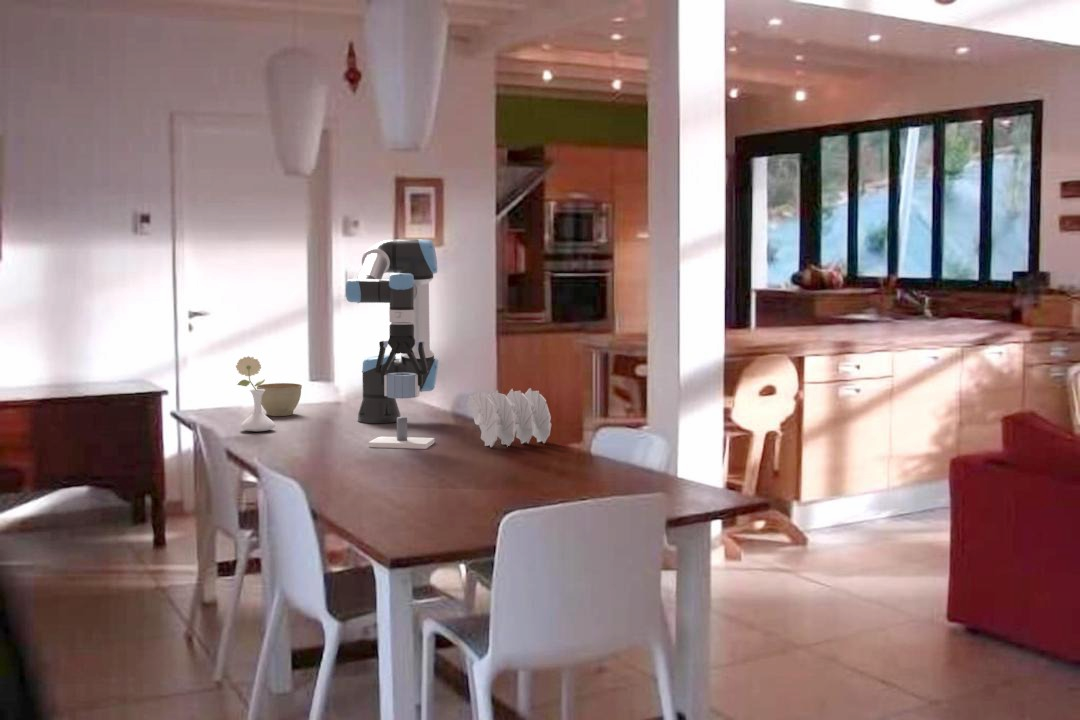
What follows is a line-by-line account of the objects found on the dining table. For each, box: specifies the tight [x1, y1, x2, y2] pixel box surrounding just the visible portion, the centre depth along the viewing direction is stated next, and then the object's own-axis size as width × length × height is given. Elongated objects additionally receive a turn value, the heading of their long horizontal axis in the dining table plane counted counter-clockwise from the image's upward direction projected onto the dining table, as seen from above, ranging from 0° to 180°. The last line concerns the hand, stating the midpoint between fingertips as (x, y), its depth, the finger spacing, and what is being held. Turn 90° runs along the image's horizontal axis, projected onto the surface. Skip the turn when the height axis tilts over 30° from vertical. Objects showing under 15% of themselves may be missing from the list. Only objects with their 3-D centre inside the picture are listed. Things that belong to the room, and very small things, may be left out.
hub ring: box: [387, 373, 417, 399], centre depth 367 cm, size 9×9×7 cm
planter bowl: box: [256, 382, 303, 417], centre depth 435 cm, size 16×16×11 cm
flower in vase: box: [235, 356, 276, 433], centre depth 394 cm, size 13×11×25 cm
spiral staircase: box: [466, 387, 552, 448], centre depth 370 cm, size 18×18×25 cm
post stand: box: [368, 416, 436, 450], centre depth 368 cm, size 12×18×8 cm, turn 83°
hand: (401, 395), depth 368 cm, fingers closed on hub ring, 9 cm apart
